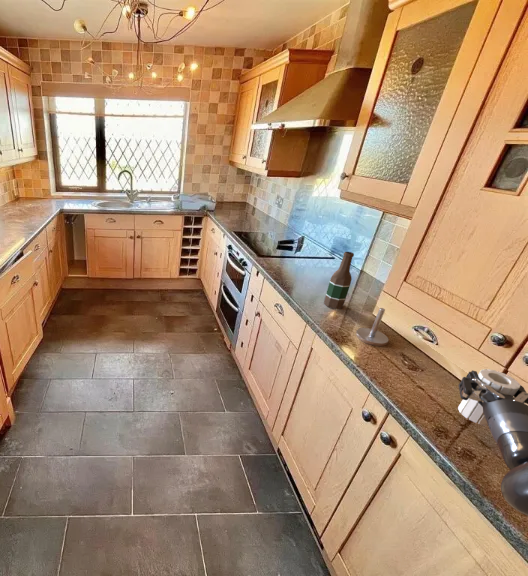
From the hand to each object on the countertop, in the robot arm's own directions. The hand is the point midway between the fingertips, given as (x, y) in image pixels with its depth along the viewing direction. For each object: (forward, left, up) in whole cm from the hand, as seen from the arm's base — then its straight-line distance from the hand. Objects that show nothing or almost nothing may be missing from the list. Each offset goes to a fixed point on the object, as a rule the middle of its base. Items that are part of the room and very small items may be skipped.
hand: (492, 379), depth 74 cm
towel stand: (+15, -32, -13) cm, 38 cm away
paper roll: (0, +2, -10) cm, 10 cm away
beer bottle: (+25, -54, -14) cm, 61 cm away
